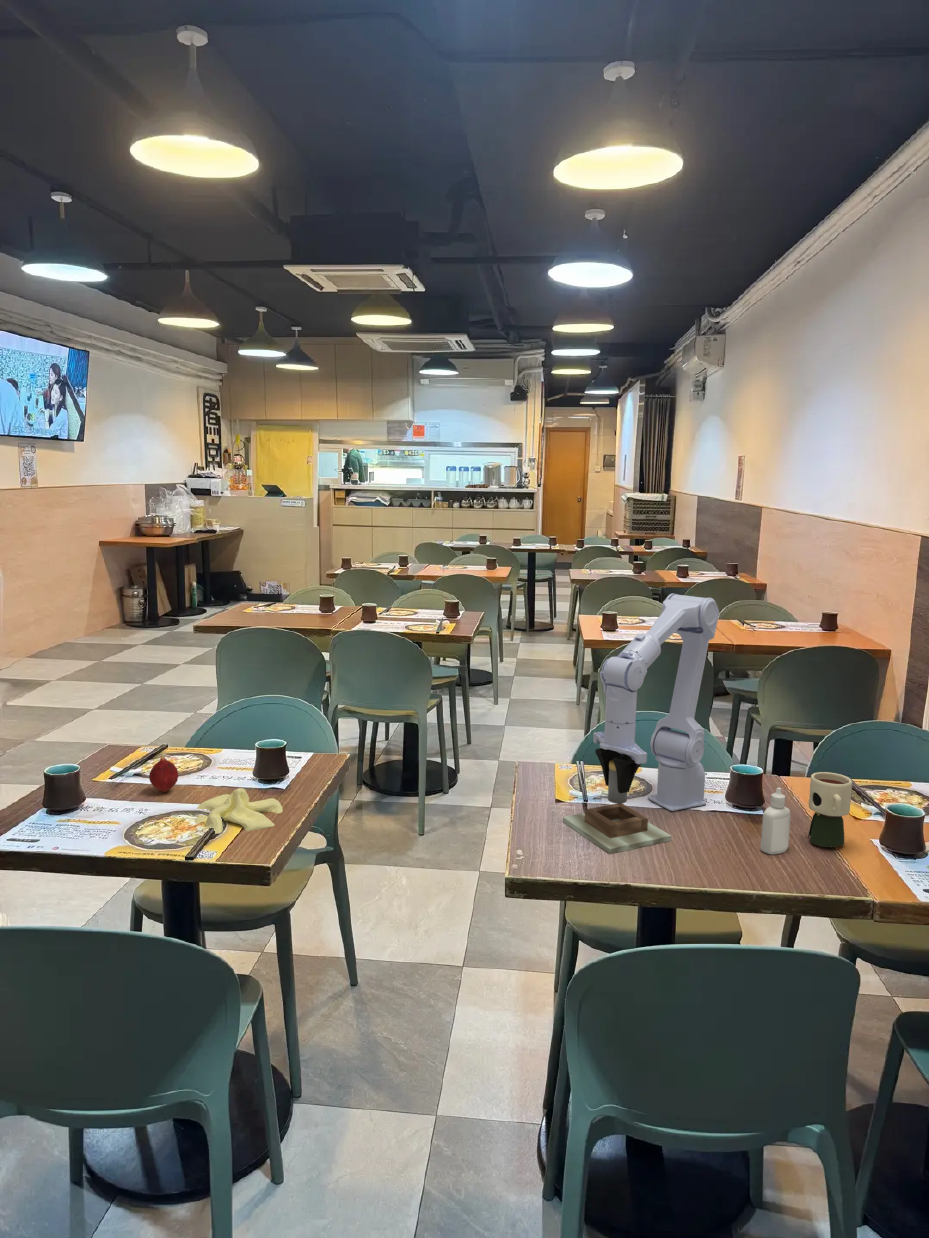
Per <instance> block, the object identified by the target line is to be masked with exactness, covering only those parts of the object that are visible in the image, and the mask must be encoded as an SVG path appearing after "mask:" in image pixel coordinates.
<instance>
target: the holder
mask: <svg viewBox="0 0 929 1238" xmlns="http://www.w3.org/2000/svg"><path fill="white" fill-rule="evenodd" d="M562 823H564V824H565V825H567V826H568V827H570V828H571V829H573V830H574V831H576V832H577V833H579V835H581V836H582V837H584V838H586V839H587V840H589V841H590V842H592V843H593V844H594V845H596V846H597V847H598V848H600V849H602V850H603V851H605V852H606V853H607V854H609V855H611V854H616V852H617V853H622V852H625V851H630V850H634V849H639V848H643V847H645V848H646V847H648V846H653V845H658V844H663V843H667V842H671V841H672V835H671V834H669V833H668V832H666V831H664V830H662V829H660V828H658V827H657V826H655V824H653V823H650V822H649V818H648V817H646V816H645V815H643V814H642V813H640V812H638V811H636V810H634V809H632V808H631V807H629V806H627V805H626V804H625V803H613V804H607V805H602V806H596V807H591V808H586V809H585V810H584V812H583V813H582V812H581V813H576V814H571V815H566V816H562Z"/></svg>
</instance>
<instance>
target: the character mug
mask: <svg viewBox="0 0 929 1238" xmlns="http://www.w3.org/2000/svg"><path fill="white" fill-rule="evenodd" d="M852 790H853V780H852V779H851V778H850V777H849V776H846V775H845V774H844V775H843V774H841V773H835V772H831V771H830V772H827V771H819V772H818V771H817V772H814V773H812V774H810V783H809V797H808V808H809V809H810V810H811V811H813V812H814V813H813V815H812V819H811V822H810V825H809V829H808V835H807V839H809V842H810V843H812V844H813V845H816V846H819V847H822V848H823V847H824V848H825V847H826V848H830V847H831V848H832V847H837V848H838V847H843V846H844V845H845V825H844V818H843V816H847V815H848V814H850V811H851V801H852V792H853V791H852Z"/></svg>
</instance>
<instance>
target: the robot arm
mask: <svg viewBox="0 0 929 1238" xmlns="http://www.w3.org/2000/svg"><path fill="white" fill-rule="evenodd" d="M719 615H720V611H719V608H718V604H717V602H716V601H715V599H714V598H713V597H701V596H693V595H686V594H685V595H683V594H678V593H670V594H669V595H667V597H666V598H665V599H664V600H663V601H662V605H661V613H660V614H659V616H658V618H657V619H656V620H655V621H654V623H653V624H652V625H651V627H650V628H649V629H648V631H647V632H645V633H643V632H641V633H638V634H637V635H635V637H633V639H632V640H631V641H630V642H629V643H628V644H627V645H626V646H625V648H624V649H623V650H622V651H621V652H620V653H619V654H618V655H617V656H611V657H610V658H607V659H606V660H605V661H604V662H603V664H602V667H601V671H600V672H599V674H600V675H599V677H600V681H601V684H602V685H603V694H604V695H605V711H604V712H605V714H604V731H596V732H593V735H592V736H593V737H592V738H593V739H592V740H593V741H592V742H593V743H594V744H599V748H596V749H594V750H595V755H596V756H597V758H598V761H599V763H600V766H601V771H602V774H603V779H604V784H605V786H607V787H608V785H609V761H611V760H613V762H614V764H615V768H616V772H617V787H618V792H619V793H626V792H627V793H629V792H630V790H631V787H632V783H633V781H634V777H635V775H636V773H637V771H638V770H639V768H640V767H641V765H642V764H647V761H648V752H646V751H644V750H643V749H642V748H641V747H640V746H639V745H638V744H637V743H636V740H635V739H636V720H637V719H636V718H637V703H638V702H637V700H638V699H637V698H638V689H640V688H641V687H642V685H643V683H644V680H645V677H646V675H647V672H648V670H647V669H649V668H650V666H651V665H652V664H653V663H654V662H655V661H656V659H657V658H658V657H659V656H660V655H661V653H662V648H661V645H662V644H664V643H665V642H666V641H667V640H668V639H669V638H670V637H671V636H672V635H673V634H674V633H675V634H677V635H678V636H680V638H681V640H682V647H681V651H680V655H679V662H678V666H677V672H676V675H675V676H676V677H675V682H674V688H673V692H672V698H671V703H670V707H669V714H667V715H665V716H663V717H662V718H661V719H659V720H657V722H656V726H655V729H654V731H653V734H652V735H651V738H650V743H649V745H650V749H651V750H650V751H651V753H652V754H653V755H654V756H655V761H656V762H658V764H657V765H658V767H657V784H656V786H657V787H656V794H653V795H648V796H647V799H648V800H650V801H651V802H653V803H655V804H657V805H659V806H661V807H663V808H664V809H666V810H668V811H670V812H674V811H675V812H676V811H680V810H685V809H689V808H690V809H691V808H696V807H701V806H706V804H707V802H706V801H704V800H705V783H706V771H705V768H704V766H703V764H702V763H701V760H702V759H703V756H704V752H705V743H704V741H705V740H704V739H705V730H704V729H703V728H702V726H701V725H700V724H699V723H698V722H697V720H696V719H695V716H696V709H697V705H698V701H699V695H700V690H701V684H702V679H703V674H704V669H705V663H706V658H707V653H708V647H709V643H710V640H713V639H715V635H716V631H717V626H718V621H719ZM674 729H675V730H674ZM677 730H678V731H677ZM679 730H680V731H679Z"/></svg>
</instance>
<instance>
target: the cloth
mask: <svg viewBox="0 0 929 1238" xmlns="http://www.w3.org/2000/svg"><path fill="white" fill-rule="evenodd" d="M196 808H197V809H207V810H206V811H208V810H209V814H208V815H206V814H205V815H204V814H199V815H198V816H197V818H196V819H195V820H194V822H195V823H196V825H199V824H200V823H202V822H204V821H205V820H206V823H205V826H206V830H207V829H209V828H214V831H215V834H214V835H217V834H221V833H222V832H223V829H224V828H223V826H224V825H223V822H228V823H234V824H238V825H241V826H242V827H243V829H244V830H245V831H246V832H253V831H257V830H262V829H268V828H272V827H275V823H274V822H272V820H270V819H269V818H268V817H267V816H265V815H264V814H263V813H270V812H272V813H274V814H281V813H283V812H284V811H283V808H284V807H283V806H282V804H281V802H280V801H279V800H277V799H276V798H274V797H272V798H266V799H262V800H256V801H250V797H249V795H248V793H247V790H246V789H245V788H243V787H240V788H235V789H234V790H233V791H232V792H231V794H227V793H225V794H220V795H218V796H215V797H212V798H209V799H207V800H205V801H202V802H201V803H200V804H199V805H198V806H197V807H196ZM197 809H196V810H197ZM221 817H223V819H224V821H222V819H221Z"/></svg>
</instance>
